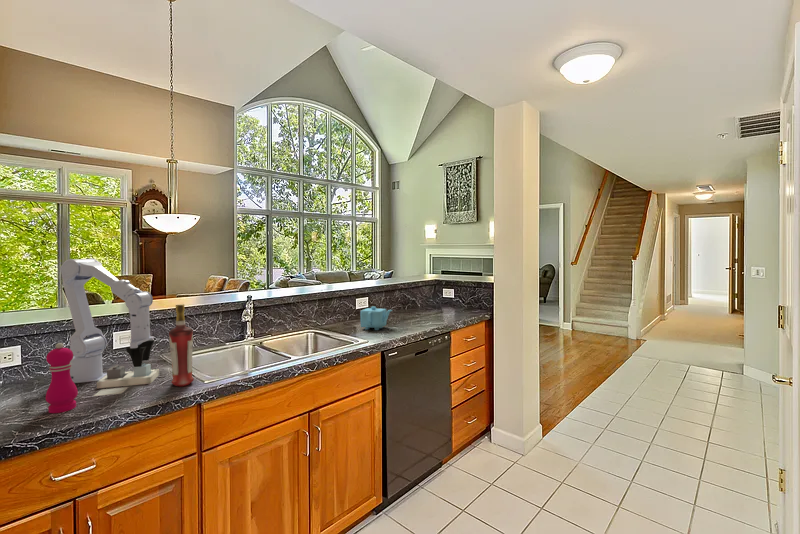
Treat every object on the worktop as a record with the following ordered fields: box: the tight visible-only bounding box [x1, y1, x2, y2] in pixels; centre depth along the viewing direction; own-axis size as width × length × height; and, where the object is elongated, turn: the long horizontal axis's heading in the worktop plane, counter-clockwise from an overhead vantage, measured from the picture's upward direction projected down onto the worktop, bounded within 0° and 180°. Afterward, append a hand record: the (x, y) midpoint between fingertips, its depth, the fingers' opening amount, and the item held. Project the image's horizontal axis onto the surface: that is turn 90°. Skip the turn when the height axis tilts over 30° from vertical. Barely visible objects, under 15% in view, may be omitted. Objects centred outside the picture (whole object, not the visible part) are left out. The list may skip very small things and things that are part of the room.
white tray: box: [96, 364, 160, 389], centre depth 139 cm, size 16×10×6 cm, turn 107°
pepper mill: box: [45, 342, 79, 414], centre depth 115 cm, size 7×7×20 cm
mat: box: [93, 386, 129, 397], centre depth 129 cm, size 8×6×1 cm
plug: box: [133, 362, 152, 377], centre depth 141 cm, size 4×4×6 cm
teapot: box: [360, 305, 393, 331], centre depth 228 cm, size 18×16×13 cm
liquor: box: [168, 303, 195, 388], centre depth 136 cm, size 7×7×28 cm
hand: (141, 363), depth 140 cm, fingers open, 7 cm apart
